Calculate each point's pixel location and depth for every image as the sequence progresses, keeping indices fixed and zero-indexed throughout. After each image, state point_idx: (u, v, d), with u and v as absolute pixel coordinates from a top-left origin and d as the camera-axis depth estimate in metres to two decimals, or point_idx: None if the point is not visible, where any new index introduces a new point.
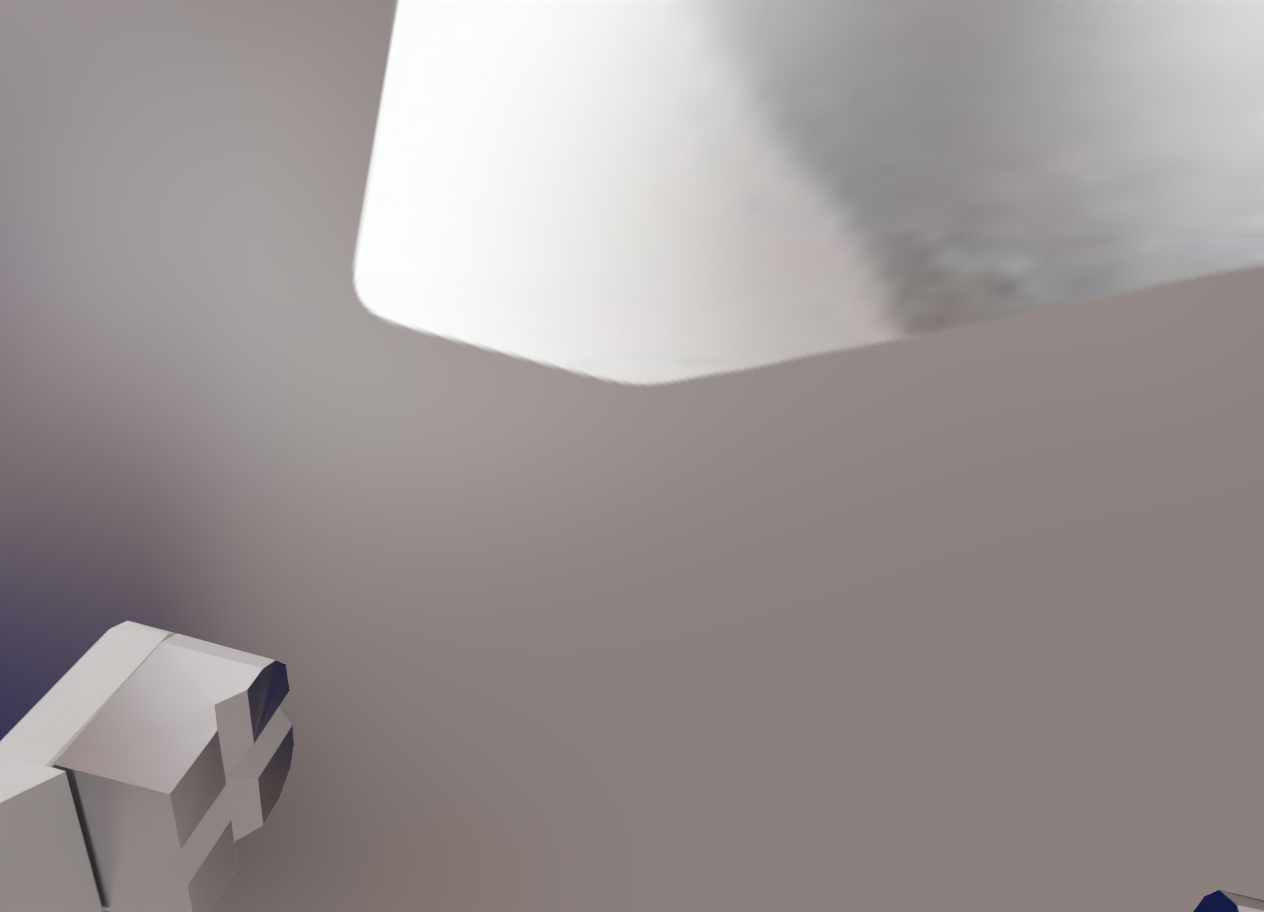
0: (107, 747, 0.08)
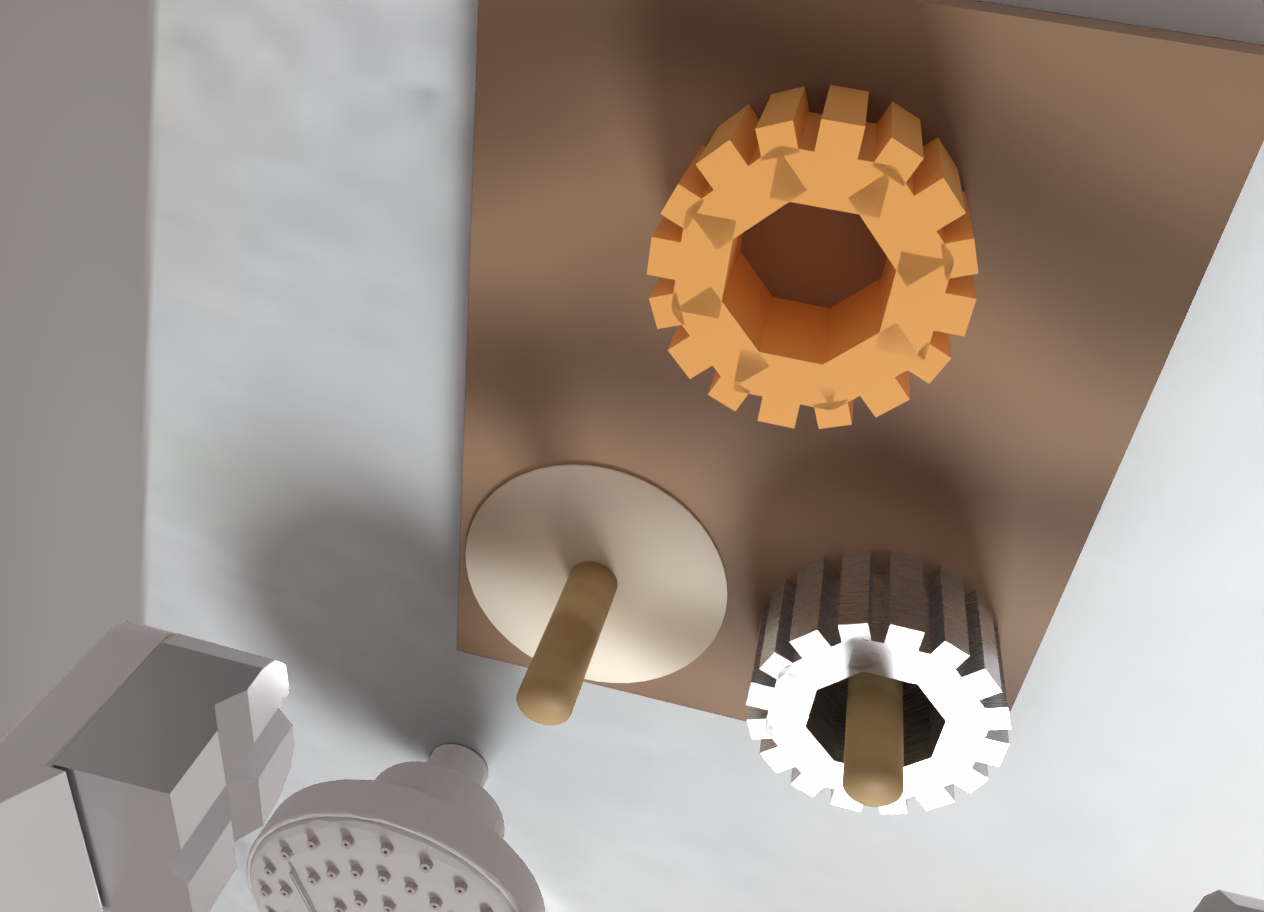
0: (107, 748, 0.08)
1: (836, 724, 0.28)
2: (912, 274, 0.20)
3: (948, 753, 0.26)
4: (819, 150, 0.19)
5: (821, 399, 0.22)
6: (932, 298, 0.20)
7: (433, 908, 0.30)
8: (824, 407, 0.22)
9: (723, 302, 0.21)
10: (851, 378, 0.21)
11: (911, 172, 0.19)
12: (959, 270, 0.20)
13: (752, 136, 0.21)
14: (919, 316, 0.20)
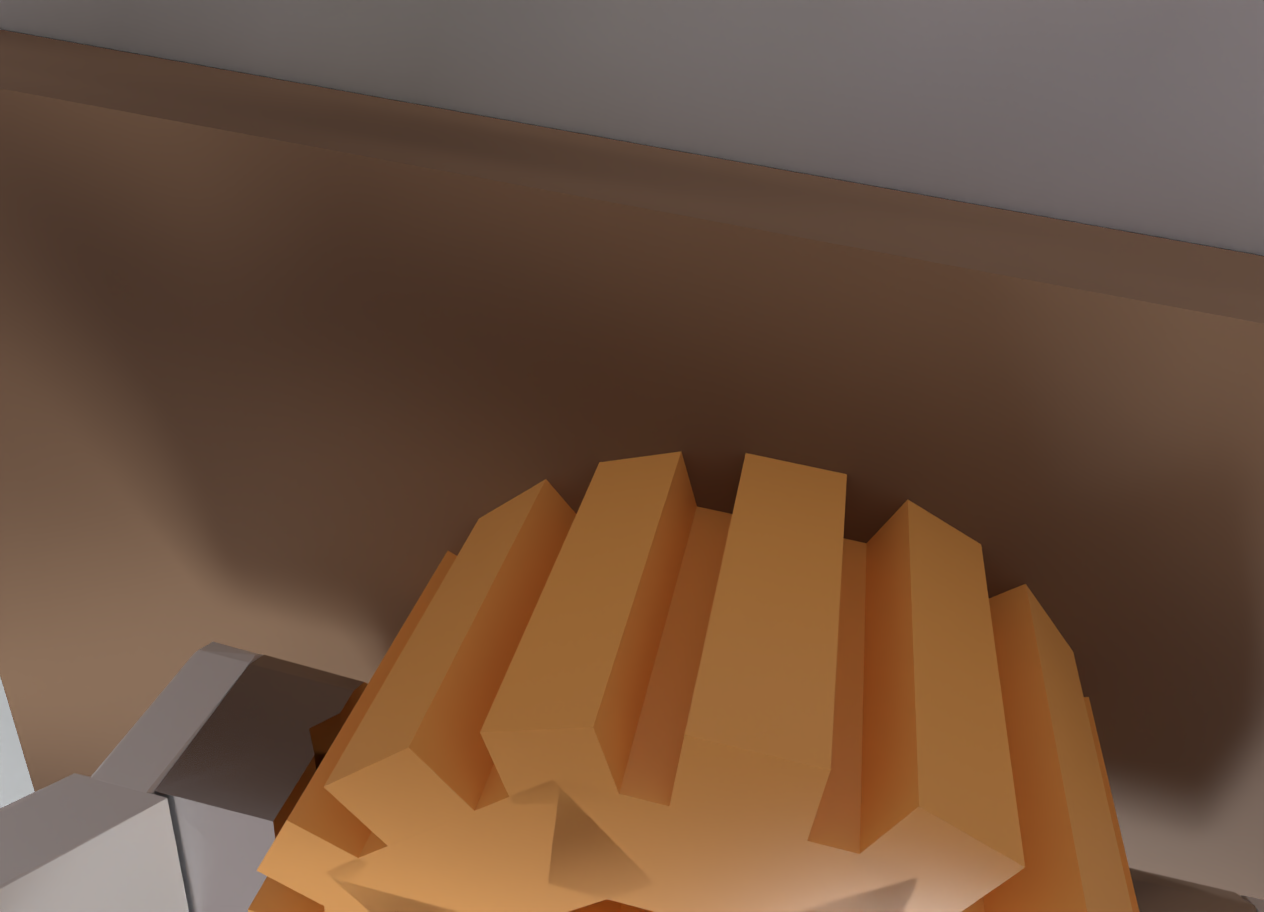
0: (206, 773, 0.08)
1: None
2: None
3: None
4: (684, 805, 0.06)
5: None
6: None
7: None
8: None
9: None
10: None
11: (982, 895, 0.06)
12: None
13: (530, 618, 0.08)
14: None
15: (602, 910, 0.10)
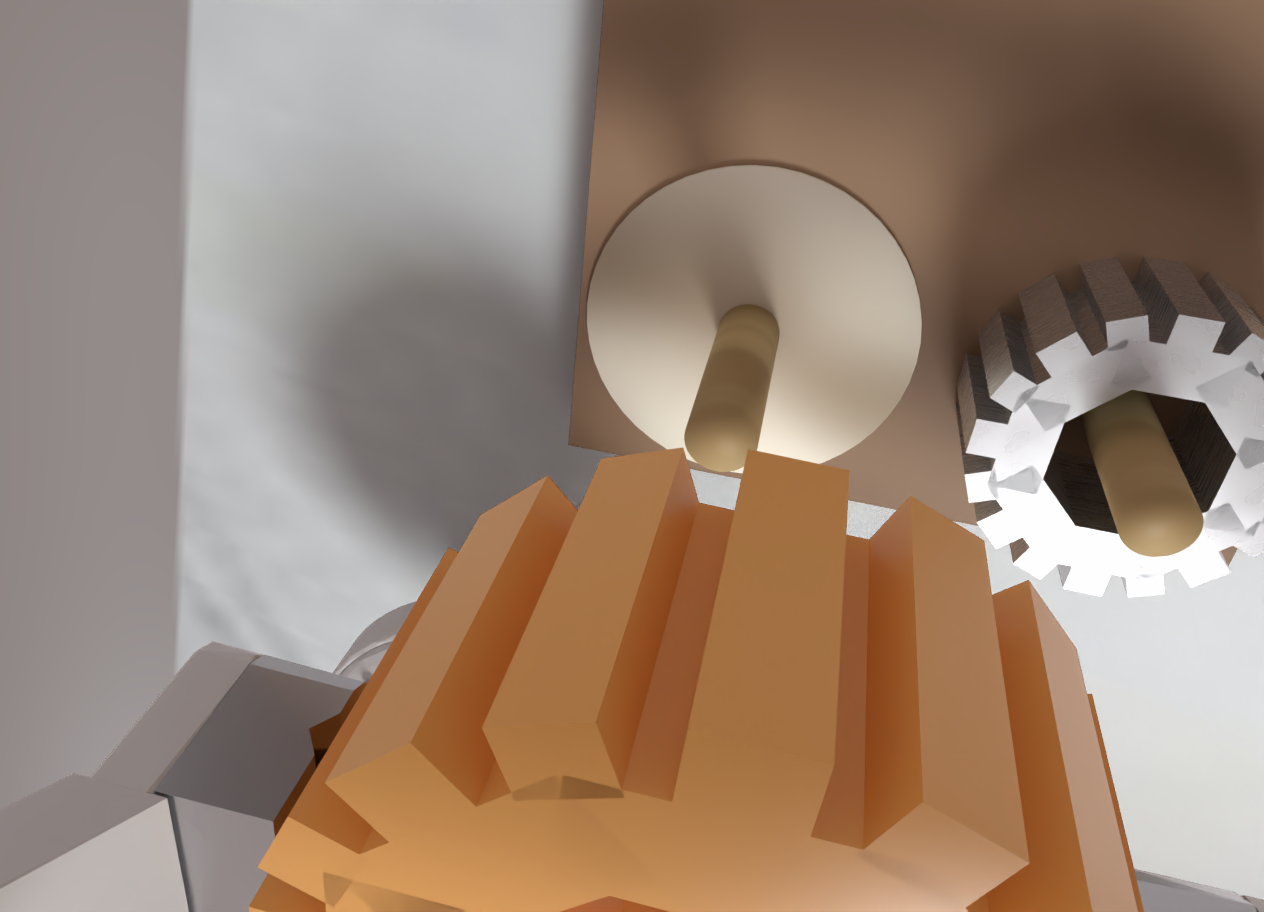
0: (205, 775, 0.08)
1: (1066, 491, 0.22)
2: None
3: (1232, 502, 0.20)
4: (688, 801, 0.06)
5: None
6: None
7: None
8: None
9: None
10: None
11: (986, 891, 0.06)
12: None
13: (532, 615, 0.08)
14: None
15: (604, 908, 0.10)
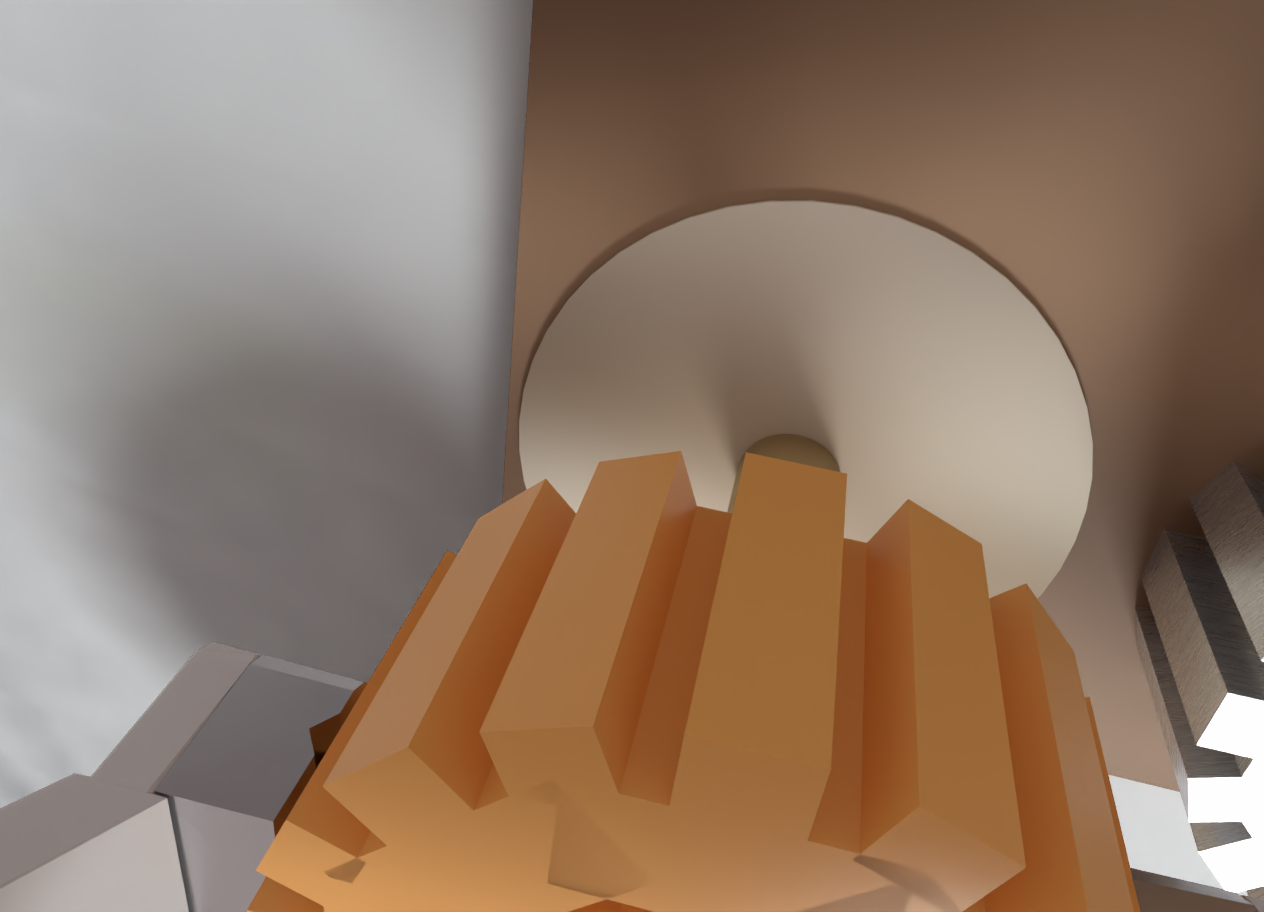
0: (206, 774, 0.08)
1: None
2: None
3: None
4: (684, 804, 0.06)
5: None
6: None
7: None
8: None
9: None
10: None
11: (983, 895, 0.06)
12: None
13: (530, 618, 0.08)
14: None
15: (602, 910, 0.10)
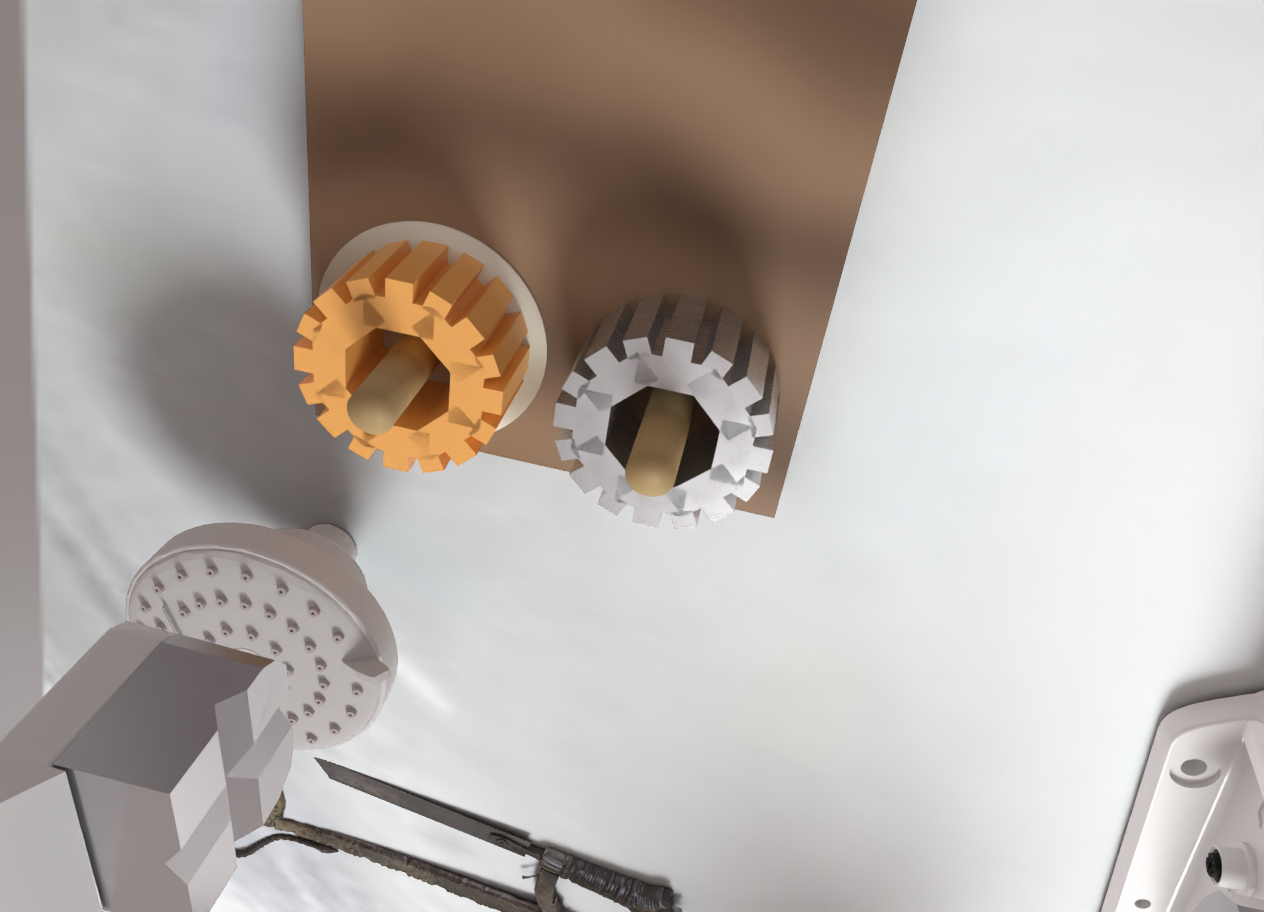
0: (105, 747, 0.08)
1: None
2: (460, 375, 0.30)
3: (724, 463, 0.30)
4: (387, 297, 0.29)
5: (420, 453, 0.32)
6: (476, 390, 0.30)
7: (290, 633, 0.34)
8: (425, 458, 0.32)
9: (347, 388, 0.31)
10: (437, 440, 0.31)
11: (446, 313, 0.29)
12: (488, 374, 0.30)
13: None
14: (471, 402, 0.30)
15: None
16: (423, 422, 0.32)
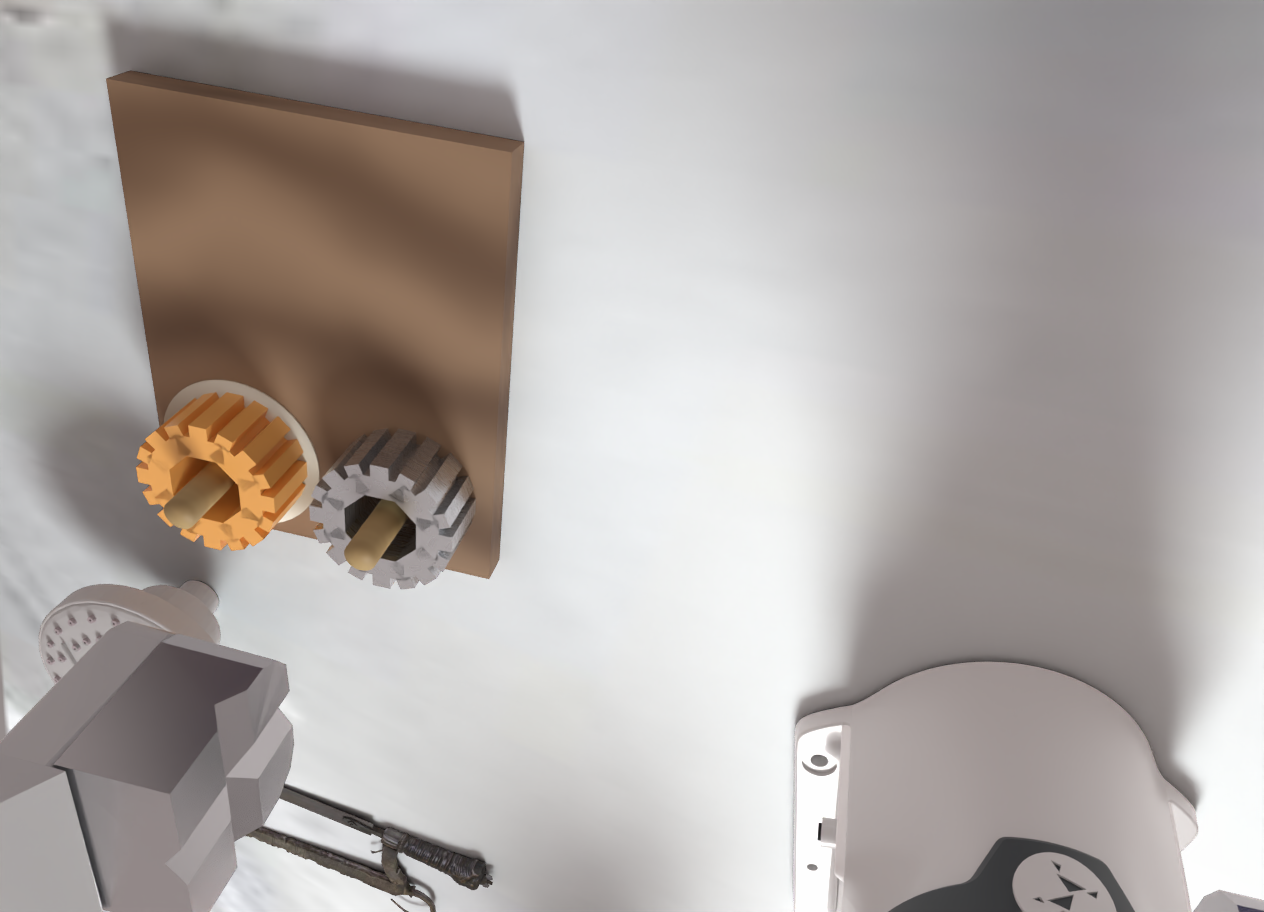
0: (105, 747, 0.08)
1: None
2: (245, 487, 0.44)
3: (423, 545, 0.44)
4: (191, 437, 0.43)
5: (227, 537, 0.46)
6: (256, 497, 0.44)
7: None
8: (231, 541, 0.46)
9: (174, 495, 0.45)
10: (236, 529, 0.45)
11: (229, 447, 0.43)
12: (262, 486, 0.44)
13: None
14: (254, 504, 0.44)
15: None
16: (229, 516, 0.46)
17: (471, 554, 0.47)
